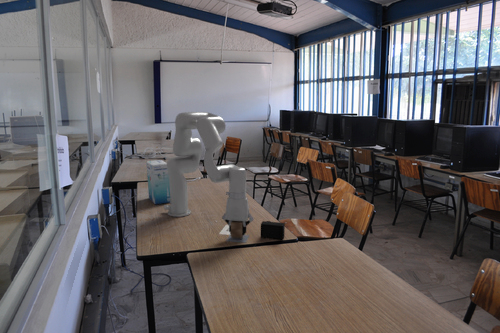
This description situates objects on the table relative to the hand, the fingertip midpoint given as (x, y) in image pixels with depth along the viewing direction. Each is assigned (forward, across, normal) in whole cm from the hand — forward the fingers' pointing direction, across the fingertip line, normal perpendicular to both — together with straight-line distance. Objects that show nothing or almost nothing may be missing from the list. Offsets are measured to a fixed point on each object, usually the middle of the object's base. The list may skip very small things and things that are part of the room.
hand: (237, 233), depth 170 cm
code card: (+3, -6, +10) cm, 12 cm away
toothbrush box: (+3, -62, +52) cm, 81 cm away
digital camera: (+3, +16, +5) cm, 17 cm away
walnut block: (+1, 0, 0) cm, 1 cm away
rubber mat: (+3, 0, 0) cm, 3 cm away
